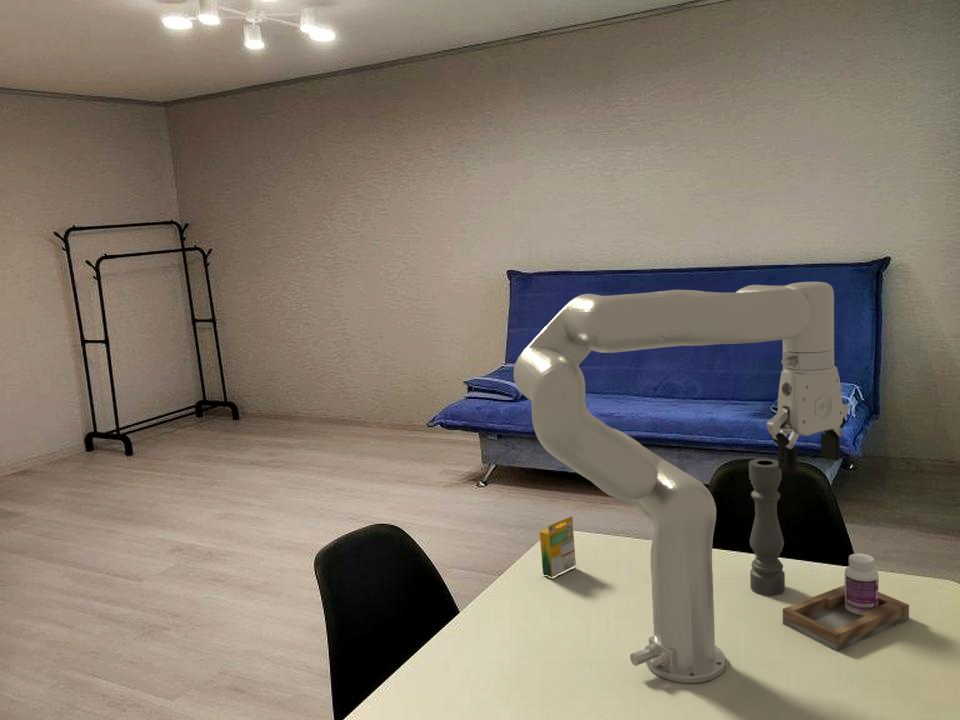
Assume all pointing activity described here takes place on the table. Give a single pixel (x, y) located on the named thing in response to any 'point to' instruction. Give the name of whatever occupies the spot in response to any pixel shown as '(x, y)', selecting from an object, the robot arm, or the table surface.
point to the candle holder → (766, 529)
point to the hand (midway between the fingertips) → (809, 464)
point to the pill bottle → (861, 584)
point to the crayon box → (558, 547)
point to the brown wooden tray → (842, 618)
